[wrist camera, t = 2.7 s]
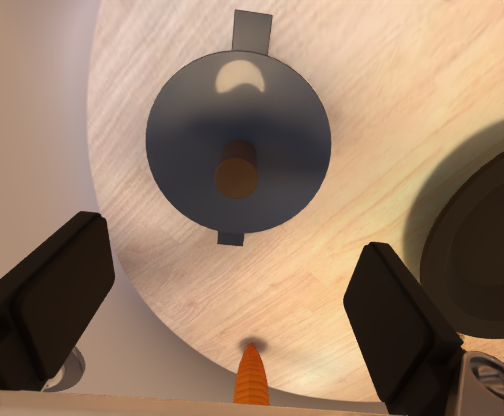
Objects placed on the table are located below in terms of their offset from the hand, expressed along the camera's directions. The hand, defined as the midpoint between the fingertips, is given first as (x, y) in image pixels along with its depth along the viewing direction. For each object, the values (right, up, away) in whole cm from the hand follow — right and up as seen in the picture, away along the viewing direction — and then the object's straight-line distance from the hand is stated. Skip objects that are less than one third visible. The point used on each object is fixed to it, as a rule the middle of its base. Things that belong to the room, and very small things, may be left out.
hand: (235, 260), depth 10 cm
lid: (0, +6, +10) cm, 12 cm away
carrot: (0, -20, +34) cm, 40 cm away
